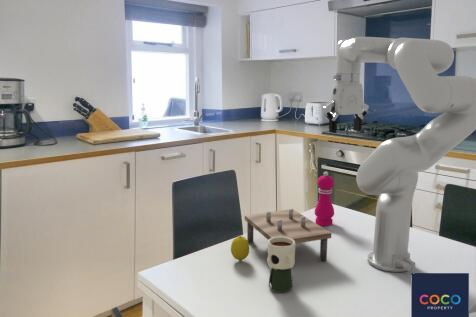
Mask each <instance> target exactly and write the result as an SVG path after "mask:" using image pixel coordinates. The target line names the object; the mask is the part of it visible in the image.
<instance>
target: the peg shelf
mask: <svg viewBox="0 0 476 317" xmlns="http://www.w3.org/2000/svg"><path fill="white" fill-rule="evenodd" d="M244 221H245V222H246V223H247V225H246V226H247V236H246V237H247V238H246V239H247V241H248V243H249V244H253V243H254V229H255V230H256V231H257V232H259V233H260V234H261V235H262V236H263V237H264V238H265V239H266V240H267V241H268V240H269V239H271V238H273V237H288V238H291V239H293V240H294V241H295V245H296V244H303V243H308V242H309V243H310V242H315V241H320V243H319V244H320V249H319V261H320V262H323V263H325V262H327V257H328V254H327V253H328V239H332V232H331V231H328V230H327V229H325V228H324V227H323V226H320V225H317V224H316V223H315V222H314V221H313V220H311V219H310V218H308V217H306V216H304V214H302V213H300V212H298V211H296V210H294V209H293V208H289V209H285V210H284V209H283V210H276V211H266V212H261V213H259V212H258V213H252V214H245V215H244Z"/></svg>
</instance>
